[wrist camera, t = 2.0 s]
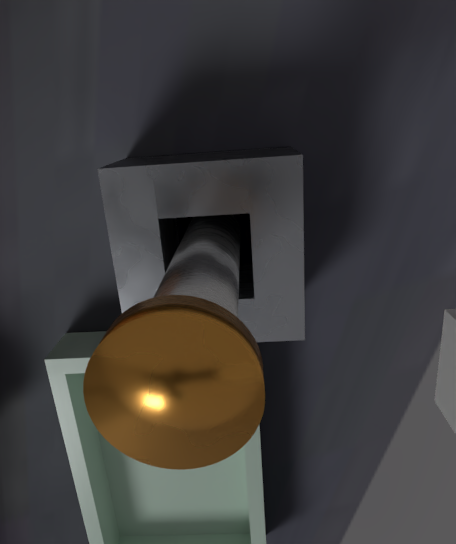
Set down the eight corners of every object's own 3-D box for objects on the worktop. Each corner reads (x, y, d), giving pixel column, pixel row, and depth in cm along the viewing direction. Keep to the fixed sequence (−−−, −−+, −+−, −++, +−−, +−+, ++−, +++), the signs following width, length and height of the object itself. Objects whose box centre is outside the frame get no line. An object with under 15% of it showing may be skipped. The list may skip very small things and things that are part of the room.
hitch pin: (180, 270, 26) (99, 472, 11) (172, 197, 25) (66, 320, 10) (254, 266, 26) (268, 466, 11) (250, 192, 24) (260, 310, 10)
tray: (111, 538, 34) (98, 580, 31) (65, 333, 28) (44, 359, 25) (265, 535, 33) (267, 577, 30) (253, 324, 27) (255, 350, 24)
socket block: (147, 307, 27) (127, 348, 22) (126, 158, 24) (97, 168, 19) (293, 299, 26) (304, 340, 22) (290, 146, 23) (302, 154, 19)
